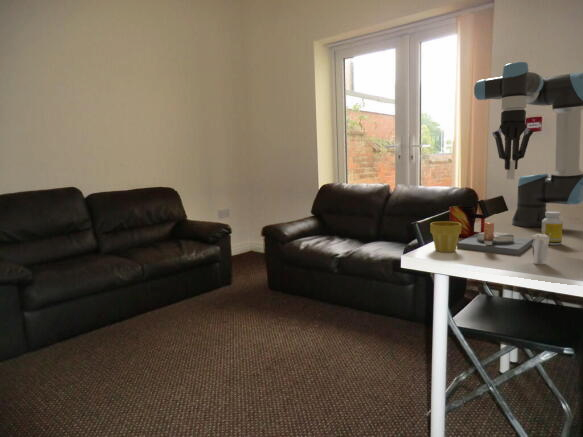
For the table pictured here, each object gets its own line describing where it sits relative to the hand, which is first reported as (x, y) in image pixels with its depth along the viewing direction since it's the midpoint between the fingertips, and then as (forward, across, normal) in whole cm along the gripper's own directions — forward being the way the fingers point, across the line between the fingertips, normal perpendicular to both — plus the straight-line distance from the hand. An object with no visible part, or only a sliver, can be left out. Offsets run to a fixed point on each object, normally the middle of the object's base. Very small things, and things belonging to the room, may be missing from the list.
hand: (510, 179), depth 148 cm
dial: (+22, +5, +1) cm, 23 cm away
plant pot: (+25, +23, +4) cm, 34 cm away
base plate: (+24, +4, -2) cm, 25 cm away
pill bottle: (+25, -18, -6) cm, 31 cm away
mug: (+25, +7, -21) cm, 33 cm away
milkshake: (+25, 0, +24) cm, 34 cm away
